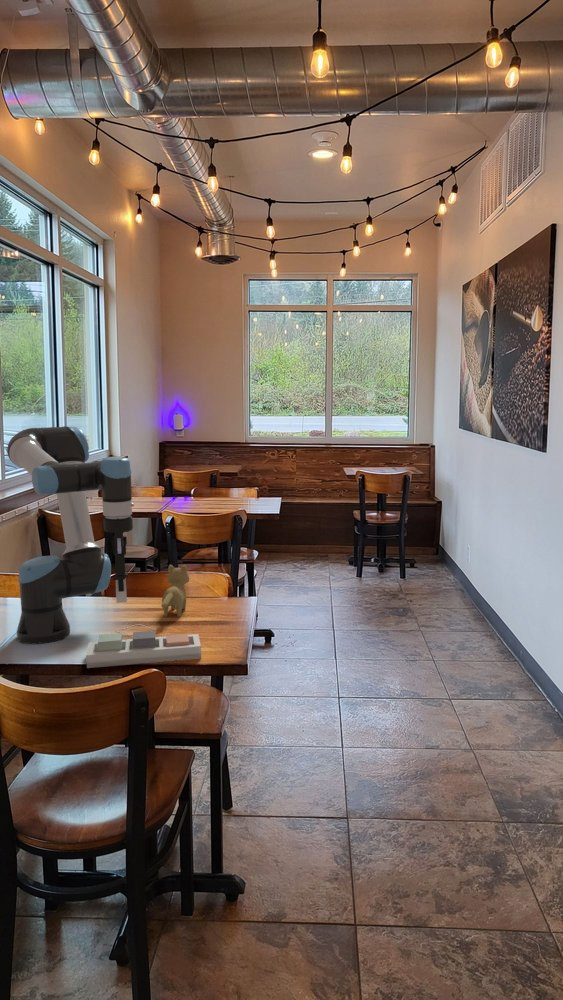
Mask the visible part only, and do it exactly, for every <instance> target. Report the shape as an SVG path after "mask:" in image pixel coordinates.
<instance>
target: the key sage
mask: <svg viewBox="0 0 563 1000" xmlns="http://www.w3.org/2000/svg"><path fill="white" fill-rule="evenodd" d="M122 633H123V632H120V633H118V632H115V633H104V634H103V633H102V634H99V635H98V640H97V642H98V651H101V650H113V649H122V640H123V634H122Z"/></svg>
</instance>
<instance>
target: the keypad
mask: <svg viewBox="0 0 563 1000" xmlns="http://www.w3.org/2000/svg"><path fill="white" fill-rule="evenodd" d="M166 636H167V635H165V636H162V637H161V636H155V641H156V646H151V647H138V648H133V638H131V639H130V638H129V639H128V638H127V639H122V649H113V650H101V651H98V641H91V642H88V646H87V650H86V654H85V659H86V660H85V661H86V669H90V668H91V669H92V668H94V669H95V668H104V667H116V666H129V665H139V664H151V663H152V664H154V663H163V662H164V661H166V662H176V661H175V660H177V661H190V660H199V659H202V647H201V646H202V645H201V640H200V636H199V633H193V634H188V637H189V645H183V646H171V647H167V641H166Z"/></svg>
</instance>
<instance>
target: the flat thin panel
mask: <svg viewBox="0 0 563 1000" xmlns="http://www.w3.org/2000/svg"><path fill="white" fill-rule="evenodd" d="M137 625H138V626H139V625H140V626H143V627H145V626H146V625H144V624H140V623H137V624H133V625H130V626H128V627H124V628H121V629H118V630H115V633H122V635H125V636H128V637H132V638H133V635H129V634H126V633H123V632H120V631H122V630H125V629H128V628H131V627H134V626H137ZM146 627H147V628H149V629H152V630H154V629H153V628H154V627H149V626H146ZM163 635H164V636H163V637H165V636H166V634H163Z"/></svg>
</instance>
